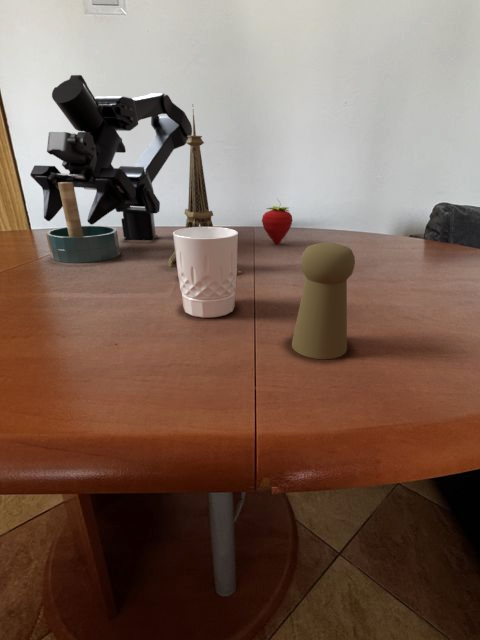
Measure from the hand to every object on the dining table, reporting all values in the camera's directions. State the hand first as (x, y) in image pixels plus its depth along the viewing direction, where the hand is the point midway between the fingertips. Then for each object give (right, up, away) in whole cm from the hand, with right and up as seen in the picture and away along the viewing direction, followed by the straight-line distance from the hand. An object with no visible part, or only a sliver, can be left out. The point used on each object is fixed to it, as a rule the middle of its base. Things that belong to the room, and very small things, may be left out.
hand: (67, 221), depth 67 cm
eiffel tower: (+24, -9, 0) cm, 25 cm away
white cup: (+28, -18, -16) cm, 37 cm away
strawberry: (+38, +2, +21) cm, 44 cm away
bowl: (+1, -5, +6) cm, 8 cm away
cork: (+41, -23, -26) cm, 53 cm away
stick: (0, -5, +4) cm, 7 cm away
